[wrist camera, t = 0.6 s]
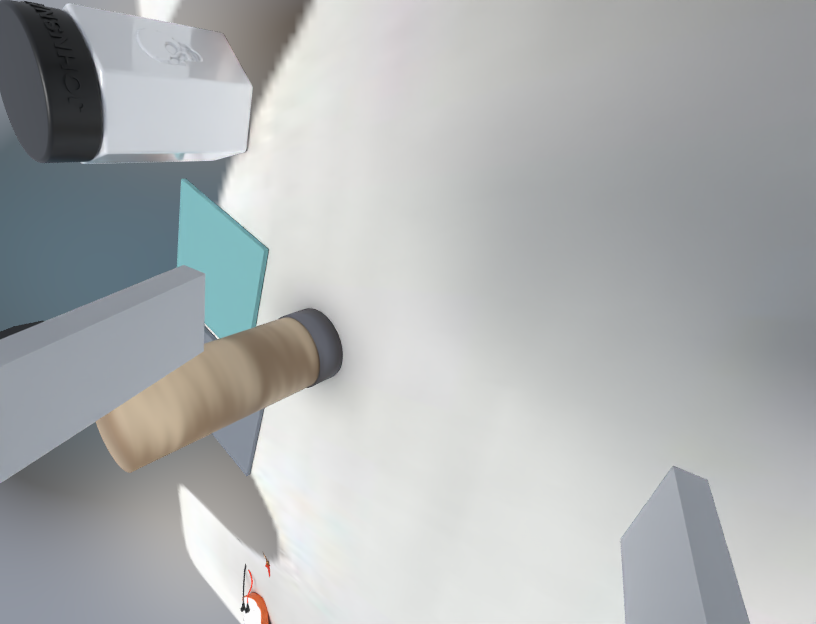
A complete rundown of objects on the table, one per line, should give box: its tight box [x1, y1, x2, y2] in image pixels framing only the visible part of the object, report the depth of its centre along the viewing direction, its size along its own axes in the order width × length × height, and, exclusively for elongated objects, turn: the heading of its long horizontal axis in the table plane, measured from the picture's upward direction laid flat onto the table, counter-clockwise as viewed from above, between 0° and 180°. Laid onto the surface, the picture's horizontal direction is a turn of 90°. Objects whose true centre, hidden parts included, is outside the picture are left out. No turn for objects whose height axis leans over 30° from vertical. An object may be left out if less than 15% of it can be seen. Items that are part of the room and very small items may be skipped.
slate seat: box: [204, 326, 264, 476], centre depth 47 cm, size 12×12×1 cm
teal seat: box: [177, 179, 269, 339], centre depth 41 cm, size 12×12×1 cm
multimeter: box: [238, 539, 270, 624], centre depth 55 cm, size 18×12×3 cm, turn 177°
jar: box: [0, 0, 253, 164], centre depth 30 cm, size 9×8×12 cm
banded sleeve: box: [96, 309, 342, 473], centre depth 30 cm, size 5×5×14 cm
